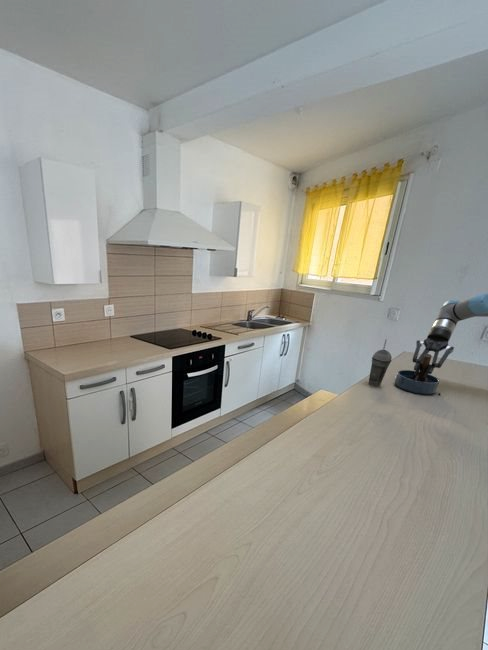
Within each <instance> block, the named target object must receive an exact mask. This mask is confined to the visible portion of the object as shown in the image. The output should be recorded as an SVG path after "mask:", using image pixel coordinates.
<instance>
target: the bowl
mask: <svg viewBox="0 0 488 650" xmlns="http://www.w3.org/2000/svg"><path fill="white" fill-rule="evenodd" d="M415 371H416V370H410V369H402V370H401V369H400V370H398V371H397V372H396V374H395V377H394V381H393V382H394V384H395V385H396V386H397V388H399V389H401V390H403V391H406V392H409V393H413V394H417V395H432V394H435V393H436V392H437V391H438V389H439V386H440V384H441V379H440V378H438V377H436V376H434V375H432V374H428V375H427V377H426V378H427V379H428V381H427V382H420V381H415V380H414V378H413V376H414V373H415ZM418 374H419V372H418ZM418 374H417V376H418Z"/></svg>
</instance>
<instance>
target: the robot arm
mask: <svg viewBox="0 0 488 650" xmlns="http://www.w3.org/2000/svg"><path fill="white" fill-rule="evenodd" d="M477 317H478V318H479V317H483V318H488V293H482V294H477V295H475V296H472V297H469V298H467V299H464V300H462V301H461V300H458V299H450V300H447V301H445V302H444V303H443V305H442V306H441V308H440V309H439V312H438V314H437V317H436V318H435V320H434V322H433V324H432V326H431V328H430V331H429V332H428V334H427V336H426V338H424V340H416V341H415V342H416V343H415V344H416V347H415V350H414V353H413V356H412V363H414V366H413V371H415V373H414V376H413V378H416V376H417V374H418V372H419V371H420V367H421V364H422V360H423V356H424V354H430V352H433V353H434V354H433V357H432V361H431V364H430V363H429V366H428V368H427V370H426V372H425V374H424V376H423V381H425V379H426V377H427V375H428V374H429V375H432V374H433V372H434V370H435V369H436V368H437V369H441V368H442V366H443V364H444V363H445V362H446V360H447V358H448V357H449V355H451V354H452V353H453V352H454V350H455V347H454V346H450V345H449V341H450V339H451V337H452V335H453V333H454V331H455V329H456V327H457V324H458V322H460V321H464V320H467V319H470V318H477ZM423 345H424V347H425V348H424V350H423V352H422V353H421V354H420V351H421V347H423ZM443 350H445V351H444V353H443V354H442V356H441V358H440V359H439V361H438V357H439V353H440V352H441V351H443ZM419 354H420V355H419Z"/></svg>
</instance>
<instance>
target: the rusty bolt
mask: <svg viewBox="0 0 488 650" xmlns="http://www.w3.org/2000/svg"><path fill="white" fill-rule="evenodd" d="M432 356H433V355H432V354H430V353H428V354H424V356H423V360H422V364H421V367H420V370H419V374H418V376H416V378H414V380H415V381H420V382H427V381H428V379H427V378H426V379H425V381H423V376H424V374H425V372H426V370H427V368H428V366H429V364H430V363H431V360H432V358H433V357H432Z"/></svg>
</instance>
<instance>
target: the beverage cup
mask: <svg viewBox="0 0 488 650" xmlns="http://www.w3.org/2000/svg"><path fill="white" fill-rule="evenodd" d="M387 340H388V339H387V338H386V339H385V340H384V343H383V348H382V349H379V350H377V351H376V352H374V354H373V355H372V357H371V367H370V372H369V377H368V385H369V386H373V387H381V384H382V383H383V380H384V378H385V375H386V373H387V370H388V368H389V366H390V364H391V362H392V354H391V353H390V351H388V350H386V346H387V345H386V344H387Z"/></svg>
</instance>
